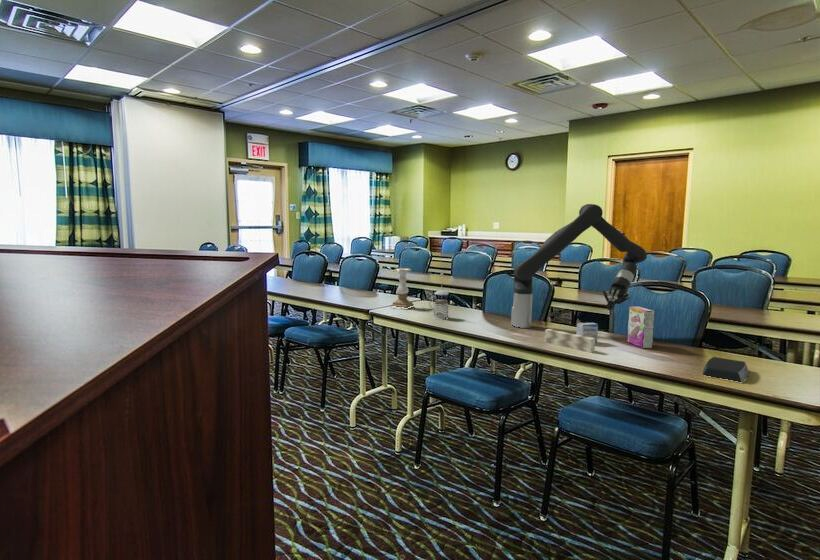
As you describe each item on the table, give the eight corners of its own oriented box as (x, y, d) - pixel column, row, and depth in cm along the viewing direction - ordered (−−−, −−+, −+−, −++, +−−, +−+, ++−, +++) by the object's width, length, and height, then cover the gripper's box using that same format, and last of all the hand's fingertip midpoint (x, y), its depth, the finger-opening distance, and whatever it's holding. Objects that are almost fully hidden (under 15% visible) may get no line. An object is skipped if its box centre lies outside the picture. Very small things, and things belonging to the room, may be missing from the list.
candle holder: (414, 306, 294) (414, 268, 291) (406, 309, 284) (407, 270, 282) (398, 305, 299) (398, 267, 296) (390, 308, 289) (390, 269, 286)
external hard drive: (750, 372, 173) (751, 361, 172) (744, 385, 158) (745, 373, 157) (708, 364, 181) (709, 354, 181) (699, 377, 166) (700, 365, 166)
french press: (450, 319, 256) (451, 274, 253) (429, 319, 256) (429, 273, 253) (449, 316, 266) (450, 272, 263) (428, 315, 266) (429, 271, 263)
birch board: (544, 341, 211) (545, 329, 210) (548, 340, 213) (548, 328, 212) (590, 352, 194) (591, 339, 193) (594, 351, 196) (595, 338, 195)
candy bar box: (626, 342, 212) (628, 306, 210) (636, 342, 213) (638, 306, 211) (642, 348, 201) (645, 310, 199) (652, 348, 202) (655, 310, 200)
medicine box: (581, 344, 208) (582, 324, 207) (575, 341, 212) (576, 322, 211) (597, 343, 210) (598, 324, 209) (590, 340, 214) (592, 322, 213)
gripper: (607, 274, 231) (592, 302, 225) (634, 277, 221) (620, 306, 215) (611, 284, 235) (597, 311, 229) (638, 287, 225) (624, 316, 219)
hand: (608, 308), depth 222 cm, fingers closed
